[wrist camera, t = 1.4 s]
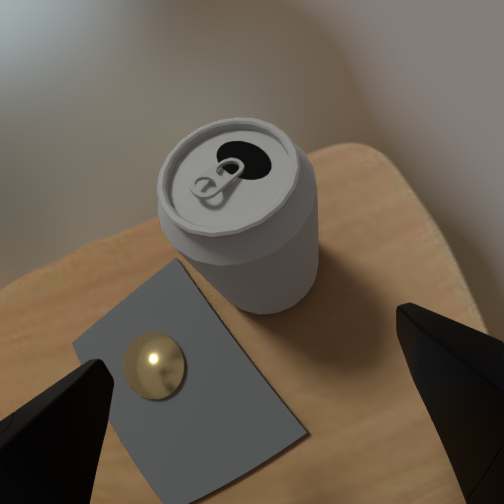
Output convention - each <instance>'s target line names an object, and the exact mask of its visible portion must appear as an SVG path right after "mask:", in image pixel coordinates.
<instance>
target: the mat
mask: <svg viewBox="0 0 504 504" xmlns="http://www.w3.org/2000/svg"><path fill="white" fill-rule="evenodd" d="M146 332H159V333H162V334H165V335H167V336H169V337H171V338H172V339H173V340H174V341H175V342H176V343H177V344H178V345H179V346H180V348H181V350H182V352H183V355H184V358H185V375H184V379H183V381H182V383H181V385H180V387H179V388H178V389H177V390H176V391H175V392H174V393H173V394H172V395H170V396H168V397H166V398H162V399H147V398H144V397H142V396H140V395H138V394H137V393H135V392H134V391H133V390H132V388H131V387H130V386H129V384H128V383H127V381H126V378H125V375H124V371H123V359H124V355H125V352H126V349H127V347H128V346H129V344H130V343H131V342H132V341H133V340H134V339H135V338H136V337H137V336H139V335H141V334H143V333H146ZM72 344H73V346H74V349H75V351H76V354H77V356H78V358H79V360H80V363H81V365H83V364H84V363H86V362H87V361H89V360H91V359H101V360H103V361H104V363H105V365H106V366H107V368H108V370H109V371H110V373H111V375H112V376H113V379H114V389H113V395H112V401H111V407H110V413H109V421H110V423H111V424H112V426H113V428H114V430H115V431H116V433H117V435H118V436H119V438H120V440H121V442H122V443H123V445H124V446H125V448H126V450H127V451H128V453H129V455H130V456H131V458H132V459H133V461H134V462H135V464H136V465H137V467H138V468H139V470H140V471H141V473H142V474H143V476H144V477H145V479H146V480H147V482H148V483H149V485H150V486H151V487H152V489H153V490H154V492H155V493H156V494H157V496H158V497H159V498H160V500H161V501H162V502H163V504H189V503H191V502H193V501H195V500H197V499H199V498H201V497H203V496H205V495H207V494H209V493H211V492H212V491H214V490H216V489H218V488H220V487H222V486H224V485H225V484H227V483H229V482H231V481H233V480H234V479H236V478H238V477H240V476H241V475H243V474H245V473H246V472H248V471H250V470H251V469H253V468H255V467H256V466H258V465H260V464H261V463H263V462H264V461H266V460H268V459H269V458H271V457H272V456H274V455H275V454H277V453H278V452H280V451H281V450H283V449H284V448H286V447H287V446H289V445H290V444H292V443H293V442H295V441H296V440H297V439H299V438H300V437H302V436H303V435H305V434H306V433H307V430H306V429H305V428H304V427H303V425H302V424H301V423H300V422H299V421H298V419H297V418H296V417H295V416H294V414H293V413H292V412H291V411H290V410H289V408H288V407H287V406H286V405H285V403H284V402H283V401H282V400H281V398H280V397H279V396H278V395H277V393H276V392H275V391H274V390H273V388H272V387H271V386H270V384H269V383H268V382H267V381H266V379H265V378H264V377H263V376H262V374H261V373H260V372H259V370H258V369H257V368H256V366H255V365H254V364H253V363H252V361H251V360H250V359H249V357H248V356H247V355H246V353H245V352H244V351H243V349H242V348H241V347H240V345H239V344H238V343H237V341H236V340H235V339H234V337H233V336H232V335H231V333H230V332H229V330H228V329H227V328H226V326H225V325H224V324H223V322H222V321H221V319H220V318H219V317H218V315H217V314H216V313H215V311H214V310H213V308H212V307H211V306H210V304H209V303H208V301H207V300H206V299H205V297H204V296H203V294H202V293H201V291H200V290H199V289H198V287H197V286H196V284H195V283H194V281H193V280H192V279H191V277H190V276H189V274H188V273H187V271H186V270H185V268H184V267H183V265H182V264H181V262H180V261H179V260H178V259H177V258H175V259H174V260H172V261H171V262H170V263H169V264H167V265H166V266H165V267H164V268H162V269H161V270H160V271H159V272H157V273H156V274H155V275H154V276H152V277H151V278H150V279H149V280H147V281H146V282H145V283H144V284H142V285H141V286H140V287H139V288H137V289H136V290H135V291H134V292H132V293H131V294H130V295H129V296H128V297H126V298H125V299H124V300H123V301H121V302H120V303H119V304H118V305H117V306H115V307H114V308H113V309H112V310H111V311H109V312H108V313H107V314H106V315H105V316H103V317H102V318H101V319H100V320H99V321H97V322H96V323H95V324H94V325H93V326H91V327H90V328H89V329H88V330H87V331H86V332H84V333H83V334H82V335H81V336H80V337H78V338H77V339H76V340H75V341H74V342H73V343H72Z"/></svg>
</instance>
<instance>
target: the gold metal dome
mask: <svg viewBox="0 0 504 504" xmlns="http://www.w3.org/2000/svg"><path fill="white" fill-rule="evenodd" d="M123 371H124V375H125V378H126V381H127V383H128V384H129V386H130V387H131V388H132V390H133V391H134V392H135V393H137V394H138V395H140V396H142V397H144V398H147V399H162V398H166V397H168V396H170V395H172V394H173V393H174V392H175V391H176V390H177V389H178V388H179V387H180V385H181V383H182V381H183V379H184V375H185V358H184V355H183V352H182V350H181V348H180V346H179V345H178V344H177V343H176V342H175V341H174V340H173V339H172V338H171V337H169V336H167V335H165V334H162V333H159V332H146V333H143V334H141V335H139V336H137V337H136V338H135V339H134V340H133V341H132V342H131V343H130V344H129V346H128V347H127V349H126V352H125V355H124V359H123Z"/></svg>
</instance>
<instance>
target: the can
mask: <svg viewBox="0 0 504 504" xmlns="http://www.w3.org/2000/svg"><path fill="white" fill-rule="evenodd" d="M157 195H158V199H159V204H158V215H159V219H160V223H161V228H162V231H163V232H164V234H165V235H166V237H167V238H168V239H169V241H170V242H171V244H172V245H173V246H174V248H175V249H176V250H177V251H178V252H179V253H180V254H181V255H182V256H183V257H184V258H185V259H186V260H187V261H188V262H189V263H190V264H191V265H192V266H193V267H194V268H195V269H196V270H197V271H198V272H199V273H200V274H201V275H202V276H203V277H204V278H205V279H206V280H207V281H208V282H209V283H210V284H211V285H212V286H213V287H214V288H215V289H216V290H217V291H218V292H219V293H220V294H222V295H223V296H224V297H225V298H226V299H227V300H228V301H229V302H230V303H232V304H233V305H235V306H236V307H238V308H240V309H241V310H243V311H246V312H251V313H255V314H259V315H261V314H273V313H278V312H281V311H283V310H286V309H288V308H290V307H293V306H294V305H295V304H296V303H298V302H299V301H300V300H301V299H302V298H303V297H305V296H306V295H307V293H308V291H309V290H310V288H311V287H312V285H313V283H314V282H315V279H316V274H317V270H318V265H319V248H318V202H317V185H316V179H315V174H314V168H313V166H312V164H311V162H310V161H309V159H308V158H307V156H306V155H305V153H304V152H303V150H302V149H301V148H300V147H298V146H297V145H296V144H294V143H293V142H292V140H291V139H290V137H289V136H288V134H286V133H285V132H284V131H282V130H281V129H279V128H278V127H277V126H275V125H274V124H271V123H268V122H265V121H262V120H259V119H256V118H230V119H225V120H220V121H215V122H213V123H210V124H208V125H205V126H203V127H201V128H198V129H197V130H195V131H194V132H192V133H191V134H189V135H188V136H187V137H185V138H184V139H182V140H181V141H180V142H179V143H178V144H177V146H176V147H175V148H174V149H173V150H172V151H171V153H170V154H169V155H168V156H167V158H166V160H165V162H164V164H163V166H162V168H161V170H160V172H159V177H158V184H157Z"/></svg>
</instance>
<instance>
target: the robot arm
mask: <svg viewBox="0 0 504 504" xmlns="http://www.w3.org/2000/svg"><path fill="white" fill-rule="evenodd" d="M396 332H397V337H398V340H399V342H400V345H401V348H402V350H403V353H404V356H405V359H406V361H407V364H408V367H409V370H410V373H411V376H412V378H413V381H414V383H415V385H416V387H417V389H418V391H419V394H420V396H421V398H422V400H423V402H424V404H425V406H426V408H427V410H428V413H429V415H430V417H431V419H432V421H433V423H434V426H435V428H436V430H437V432H438V435H439V437H440V439H441V441H442V444H443V446H444V448H445V451H446V453H447V455H448V458H449V460H450V463H451V465H452V467H453V470H454V472H455V475H456V477H457V480H458V482H459V485H460V488H461V490H462V493H463V495H464V498H465V501H466V504H504V343H503V341H501V340H498V339H496V338H494V337H492V336H489V335H487V334H485V333H482V332H480V331H477V330H475V329H473V328H470V327H468V326H466V325H463V324H461V323H459V322H456V321H454V320H452V319H449V318H447V317H444V316H442V315H440V314H437V313H435V312H433V311H430V310H428V309H425V308H423V307H421V306H418V305H416V304H413V303H410V302H409V303H405V304H402V305H399V306H397V309H396ZM113 389H114V379H113V376H112V375H111V373H110V371H109V370H108V368H107V366H106V365H105V363H104V361H103V360H101V359H91V360H89V361H87V362H86V363H84V364H83V365H81V366H80V367H78V368H77V369H75V370H74V371H73V372H71V373H70V374H68V375H67V376H65V377H64V378H62V379H61V380H59V381H58V382H57V383H55V384H54V385H52V386H51V387H49V388H48V389H46V390H45V391H44V392H42V393H41V394H39V395H38V396H36V397H35V398H33V399H32V400H31V401H29V402H28V403H26V404H25V405H23V406H22V407H20V408H19V409H18V410H16V411H15V412H13V413H12V414H10V415H9V416H7V417H6V418H4V419H3V420H1V421H0V504H90V500H91V495H92V490H93V485H94V480H95V475H96V471H97V466H98V462H99V457H100V453H101V449H102V445H103V441H104V437H105V433H106V429H107V424H108V419H109V413H110V407H111V401H112V395H113Z"/></svg>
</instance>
